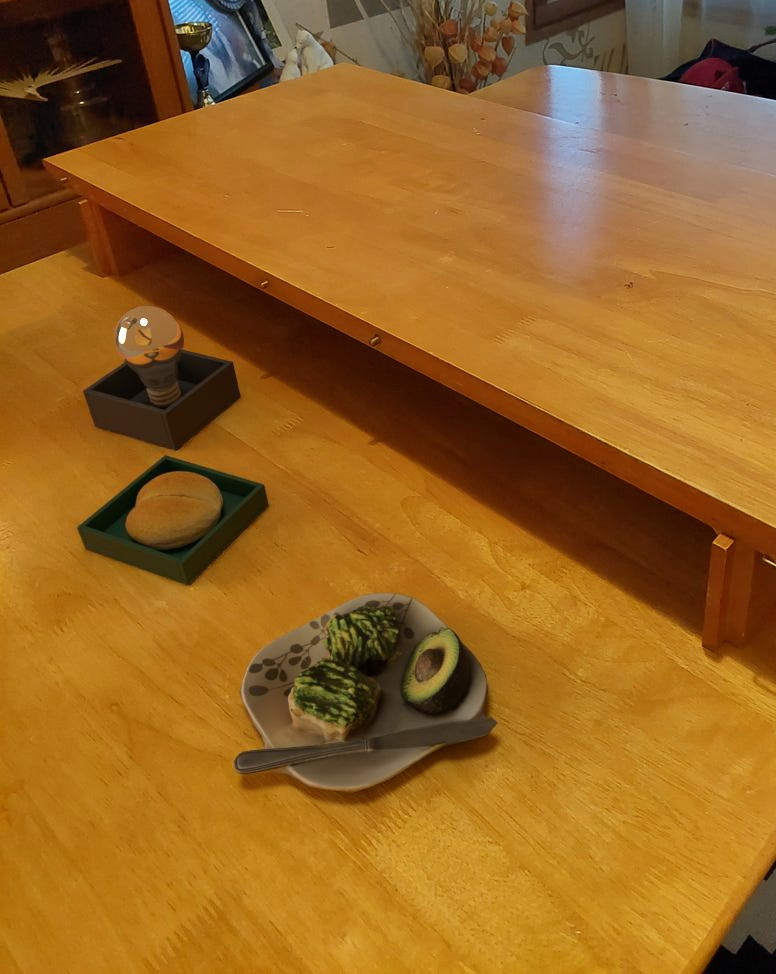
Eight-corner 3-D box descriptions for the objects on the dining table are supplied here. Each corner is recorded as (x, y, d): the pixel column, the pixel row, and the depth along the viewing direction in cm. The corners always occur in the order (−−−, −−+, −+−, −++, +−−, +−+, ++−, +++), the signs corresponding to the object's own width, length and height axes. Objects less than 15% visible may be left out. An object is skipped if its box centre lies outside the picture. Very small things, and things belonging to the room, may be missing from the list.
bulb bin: (94, 426, 101) (82, 390, 98) (163, 376, 109) (153, 342, 106) (175, 450, 97) (165, 413, 94) (241, 396, 105) (233, 361, 102)
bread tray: (84, 548, 85) (76, 527, 83) (171, 475, 93) (165, 454, 92) (188, 585, 81) (181, 563, 79) (269, 505, 89) (264, 484, 88)
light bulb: (196, 384, 106) (172, 288, 98) (203, 416, 101) (178, 317, 93) (133, 397, 104) (103, 300, 97) (137, 430, 99) (106, 330, 91)
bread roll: (119, 555, 83) (107, 521, 81) (150, 492, 90) (140, 459, 88) (210, 555, 83) (200, 521, 80) (234, 492, 90) (226, 459, 87)
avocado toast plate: (289, 871, 60) (278, 831, 57) (187, 693, 71) (173, 653, 68) (528, 725, 68) (528, 684, 65) (401, 587, 80) (397, 548, 77)
